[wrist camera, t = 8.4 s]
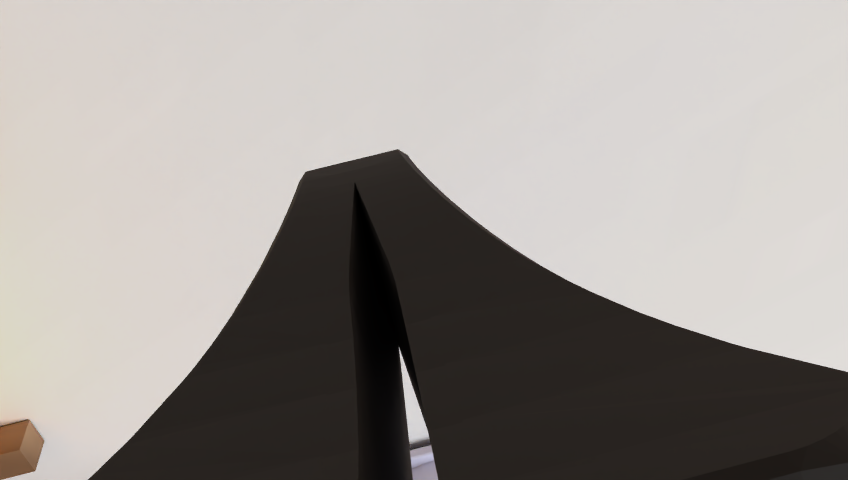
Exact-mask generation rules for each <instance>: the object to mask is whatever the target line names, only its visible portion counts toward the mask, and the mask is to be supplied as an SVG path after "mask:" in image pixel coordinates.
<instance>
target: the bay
mask: <svg viewBox="0 0 848 480" xmlns="http://www.w3.org/2000/svg"><path fill="white" fill-rule="evenodd" d="M43 444H44V440H43V438H42V437H41V435H40V434H39V433H38V431H37V430H36V428H35V427H34V426H33V424H32V423H31V421H30V420H27V421H23V422H19V423H15V424H11V425H7V426H3V427H0V480H2V479H6V478H10V477H14V476H18V475H21V474H25V473H29V472H33V471H35V470H36V467H37V463H38V460H39V457H40V453H41V450H42V447H43Z"/></svg>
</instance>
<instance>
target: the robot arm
mask: <svg viewBox="0 0 848 480" xmlns="http://www.w3.org/2000/svg"><path fill="white" fill-rule="evenodd" d="M399 348H400V351H401V354H402V356H403V359H404V362H405V365H406V368H407V371H408V374H409V377H410V380H411V383H412V386H413V389H414V392H415V394H416V397H417V400H418V403H419V406H420V409H421V412H422V415H423V418H424V421H425V424H426V426H427V429H428V433H429V438H430V442H431V445H429V446H425V447H421V448H417V449H414V450H410V447H409V438H408V428H407V419H406V409H405V400H404V390H403V381H402V372H401V363H400V354H399ZM88 480H848V372H845V371H841V370H837V369H832V368H828V367H824V366H820V365H816V364H812V363H808V362H803V361H799V360H795V359H791V358H787V357H783V356H778V355H774V354H770V353H766V352H762V351H758V350H754V349H749V348H745V347H742V346H738V345H735V344H731V343H728V342H725V341H722V340H719V339H715V338H712V337H709V336H706V335H703V334H700V333H697V332H693V331H690V330H687V329H684V328H681V327H678V326H675V325H672V324H669V323H667V322H664V321H661V320H658V319H656V318H653V317H650V316H647V315H645V314H642V313H639V312H637V311H634V310H632V309H630V308H627V307H625V306H623V305H620V304H618V303H616V302H613V301H611V300H609V299H606V298H604V297H602V296H599V295H597V294H595V293H592V292H590V291H588V290H586V289H584V288H582V287H580V286H578V285H575V284H573V283H571V282H569V281H567V280H565V279H564V278H562V277H560V276H558V275H556V274H555V273H553V272H551V271H549V270H547V269H546V268H544V267H542V266H540V265H539V264H537V263H536V262H534V261H532V260H531V259H529V258H527V257H526V256H524V255H523V254H521V253H520V252H518V251H517V250H515V249H514V248H512V247H511V246H509V245H508V244H506V243H505V242H504V241H502V240H501V239H499V238H498V237H496V236H495V235H494V234H492V233H491V232H489V231H488V230H487V229H485V228H484V227H483V226H482V225H480V224H479V223H478V222H476V221H475V220H474V219H473V218H471V217H470V216H469V215H468V214H467V213H465V212H464V211H463V210H462V209H461V208H459V207H458V206H457V205H456V204H455V203H453V202H452V201H451V200H450V199H449V198H448V197H447V196H445V195H444V194H443V193H442V192H441V191H440V190H439V189H438V188H437V187H436V186H435V185H434V184H433V183H432V182H431V181H430V180H429V179H428V178H427V177H426V176H425V175H424V174H423V173H422V172H421V171H420V170H419V169H418V168H417V167H416V165H415V164H414V163H413V162H412V161H411V159H410V158H409V156H408V155H406V154H405V153H403V152H401V151H400V150H398V149H397V150H393V151H389V152H385V153H381V154H377V155H373V156H369V157H364V158H360V159H356V160H352V161H348V162H344V163H340V164H336V165H331V166H327V167H323V168H319V169H315V170H311V171H307V172H305V174H304V175H303V177H302V178H301V180H300V182H299V184H298V187H297V190H296V192H295V195H294V197H293V200H292V202H291V204H290V207H289V209H288V212H287V214H286V216H285V218H284V220H283V223H282V225H281V227H280V229H279V231H278V233H277V235H276V237H275V239H274V241H273V243H272V245H271V247H270V249H269V251H268V253H267V255H266V257H265V259H264V261H263V263H262V265H261V267H260V269H259V271H258V272H257V274H256V276H255V278H254V279H253V281H252V283H251V284H250V286H249V288H248V289H247V291H246V293H245V294H244V296H243V298H242V299H241V301H240V303H239V304H238V306H237V308H236V309H235V311H234V313H233V314H232V316H231V317H230V319H229V320H228V322H227V323H226V325H225V326H224V328H223V329H222V331H221V332H220V334H219V335H218V337H217V338H216V339H215V341H214V342H213V344H212V345H211V346H210V348H209V349H208V350H207V352H206V353H205V354H204V355H203V357H202V358H201V359H200V361H199V362H198V363H197V365H196V366H195V367H194V368H193V370H192V371H191V372H190V373H189V374H188V376H187V377H186V378H185V379H184V380H183V382H182V383H181V384H180V385H179V386H178V387H177V388H176V389H175V390H174V391H173V393H172V394H171V395H170V396H169V397H168V398H167V399H166V400H165V401H164V402H163V404H162V405H161V406H160V407H159V408H158V409H157V410H156V411H155V412H154V414H153V415H152V416H151V417H150V418H149V419H148V420H147V421H146V422H145V423H144V425H143V426H142V427H141V428H140V429H139V430H138V431H137V432H136V433H135V434H134V436H133V437H132V438H131V439H130V440H129V441H128V442H127V443H126V444H125V445H124V446H123V447H122V448H121V449H120V450H118V451H117V452H116V453H115V454H114V455H113V456H112V457H111V458H110V459H109V460H108V461H107V462H106V463H105V464H104V465H103V466H102V467H101V468H100V469H99V470H98V471H97V472H96V473H95V474H94V475H93V476H92V477H90V478H89V479H88Z"/></svg>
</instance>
